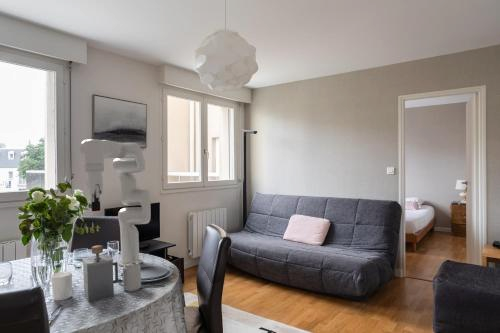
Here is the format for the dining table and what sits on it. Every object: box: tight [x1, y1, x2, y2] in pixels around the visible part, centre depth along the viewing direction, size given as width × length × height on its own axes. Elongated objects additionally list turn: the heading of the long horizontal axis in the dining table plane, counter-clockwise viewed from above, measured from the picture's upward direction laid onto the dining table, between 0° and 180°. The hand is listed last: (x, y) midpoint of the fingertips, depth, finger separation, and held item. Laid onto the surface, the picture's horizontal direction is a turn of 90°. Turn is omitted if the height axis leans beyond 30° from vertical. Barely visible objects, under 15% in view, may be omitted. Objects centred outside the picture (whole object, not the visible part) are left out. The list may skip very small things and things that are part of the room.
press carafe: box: [81, 253, 119, 303], centre depth 145 cm, size 10×13×16 cm
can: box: [122, 261, 142, 292], centre depth 151 cm, size 8×8×12 cm
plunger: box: [91, 245, 104, 260], centre depth 144 cm, size 4×4×14 cm
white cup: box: [50, 270, 73, 302], centre depth 144 cm, size 8×8×10 cm
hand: (96, 210), depth 144 cm, fingers closed
